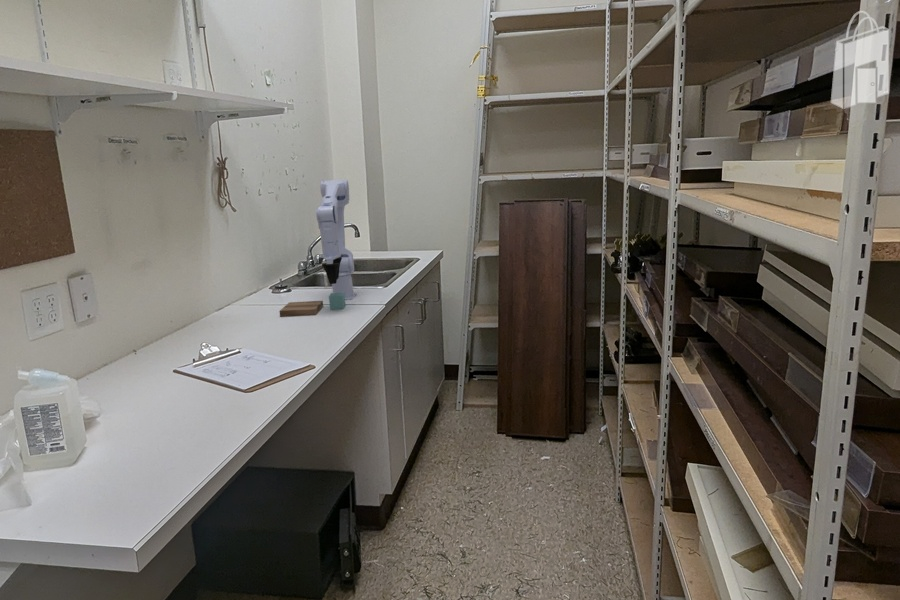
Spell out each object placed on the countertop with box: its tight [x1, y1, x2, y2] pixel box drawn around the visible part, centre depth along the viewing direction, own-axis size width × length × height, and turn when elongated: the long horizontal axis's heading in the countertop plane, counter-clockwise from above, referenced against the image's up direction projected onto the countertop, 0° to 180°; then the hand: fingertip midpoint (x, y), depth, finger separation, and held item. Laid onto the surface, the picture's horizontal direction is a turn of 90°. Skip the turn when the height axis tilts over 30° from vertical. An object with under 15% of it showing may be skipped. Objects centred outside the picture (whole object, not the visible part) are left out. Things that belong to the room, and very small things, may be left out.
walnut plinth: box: [278, 300, 324, 318], centre depth 198 cm, size 12×12×2 cm
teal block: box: [328, 292, 346, 311], centre depth 199 cm, size 4×4×5 cm
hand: (334, 281), depth 197 cm, fingers open, 7 cm apart
